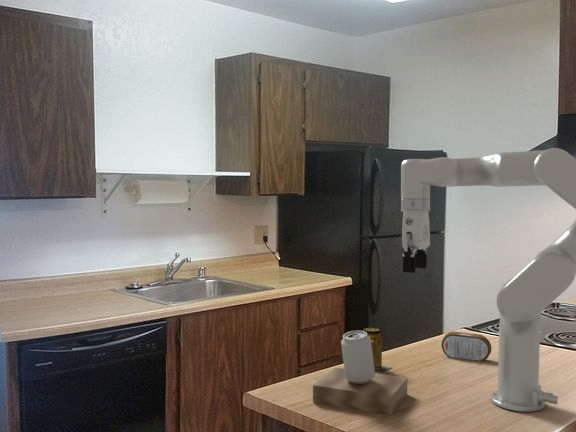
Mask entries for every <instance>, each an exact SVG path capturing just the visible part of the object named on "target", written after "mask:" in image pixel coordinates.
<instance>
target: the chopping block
mask: <svg viewBox="0 0 576 432" xmlns="http://www.w3.org/2000/svg"><path fill="white" fill-rule="evenodd" d="M407 395H408V377H406V376H398V375H390V374H384V373H375V376H374V377H373V378H372V380H371V381H369V382H367V383H363V384H354V383H351V382H350V381H349V380H347V379H346V377H345V369H344V368H341V367H334V368H333V369H331V370H330V371H329V372H328V373H326V374H325V375H324V376H323V377H321V378H320V379H319V380H317V381H316V382H314V384H313V385H312V403H315V404H321V405H327V406H332V407H339V408H344V409H351V410H354V411H355V410H356V411H361V412H368V413H373V414H374V413H375V414H380V415H385V416H390V417H391V416H392V415H393V414H394V413H395V411H396V410H397V409H398V407H399V406H400V405H401V403H403V401H404V399H405V398H406V397H407Z"/></svg>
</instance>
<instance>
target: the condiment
mask: <svg viewBox="0 0 576 432" xmlns="http://www.w3.org/2000/svg"><path fill="white" fill-rule="evenodd" d="M362 331H364V332H366V333H367V334H368V335H367V336H368V337H370V339H371V347H372V355H373V363H374V371H375V373H378V374H380V373H382V372H384V371H387V370H389V369H390V370H391V369H392V367H389V366H387V365H386V366H385V365H383V364H382V363H383V362H382V361H383V360H382V359H383V353H382V352H383V339H382V336H381V333H382V331H381V330H380V329H379V328H378V327H377V328H376V327H366V328H363V329H362Z"/></svg>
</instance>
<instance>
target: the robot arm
mask: <svg viewBox="0 0 576 432" xmlns="http://www.w3.org/2000/svg"><path fill="white" fill-rule="evenodd" d="M400 180H401V181H400V198H401V199H400V212H403V214H402V228H401V230H402V231H401V244H402V245H401V246H402V272H404V273H411V274H412V273H413V274H414V273H416V269H417V268H418V269H427V259H428V257H427V256H428V249H427V248H429V247H430V245H431V235H430V234H431V232H430V230H431V229H430V227H431V226H430V215H429V212H430V210H431V186H434V187H435V186H436V187H442V188H443V187H448V188H449V187H474V186H475V187H476V186H477V187H478V186H489V187H497V188H498V187H499V188H500V187H501V188H502V187H507V188H508V187H531V186H539V187H540V186H546V187H547V188H549V189H550V190H551V191H552V192H553V193H555V194H556V195H557V196H558V197H559V198H561V199H562V200H563V201H565V202H566V203H567V204H568V205H570V206H571V207H572V208H573V209H574V210H576V158H575V157H574V156H572V155H571V154H570V153H569V152H568V151H566V150H564V149H562V148H559V147H554V148H553V147H551V148H548V149H543V150H528V151H509V152H507V151H506V152H498V153H494V154H491V155H488V156H486V155H485V156H481V157H479V156H478V157H467V158H466V157H464V158H463V157H462V158H450V157H446V156H445V157H435V158H434V157H433V158H428V159H425V158H409V159H404V160H403V161H402V162H401V165H400ZM575 277H576V219H574V222H573V223H572V224H571V225H569V227H568V228H567V229H565V230H564V231H563V232H562V234H561V235H560V236H558V237H557V238H556V239H555V240H554V241H553V242H552V243H551V244H549V245H548V246H547V247H546V248H544V249H542V250H541V251H540V252H538V254H537V255H535V257H534V259H532V260H531V261H530V262H529V263H528V264H527V265H526V266H524V268H523V269H522V270H521V271H519V272H518V274H517V275H515V276H514V277H512V278H510V279H508V280H507V281H506V282H505V283H503V284H502V287H500V289H499V291H498V293H497V296H496V308H497V311H498V312H499V330H498V362H497V363H498V365H497V391H494V392H493V393H492V394H491V395H490V400H491V402H492V403H493V404H495V405H496V406H497V407H500V408H503V409H505V410H510V411H514V412H515V411H516V412H523V413H524V412H526V413H529V412H531V413H532V412H538V411H541V410H543V409H544V408H545V407H546V403H549V404H554V405H558V400H559V397H558V395H554V393H553V392H546V391H544V390H542V385H539V384H540V383H539V379H540V352H541V351H540V346H541V345H540V344H541V326H542V325H541V324H542V323H541V320H542V319H541V318H542V311H543V310H544V309H546V308H547V307H549V305H550V304H552V303H553V302H554V301H555V300H556V299H558V298H559V296H561V295H562V294H563V293H565V291H566V290H567V289H569V287H570V286H571V285H572V284H573V282H574V281H575Z"/></svg>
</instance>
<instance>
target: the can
mask: <svg viewBox="0 0 576 432" xmlns="http://www.w3.org/2000/svg"><path fill="white" fill-rule="evenodd" d="M367 335H368V334H367V333H366V332H364V331H363V330H351V331H347V332H346V333H344V334H342V339H341V340H340V341H341V342H340V343H341V353H342V360H343V369H345V377H346V379H347V380H349V381H350V382H351V383H354V384H363V383H367V382H369V381H371V380H372V378H373V377H374V376H375V371H374V363H373V355H372V347H371V339H370V337H368V336H367Z"/></svg>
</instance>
